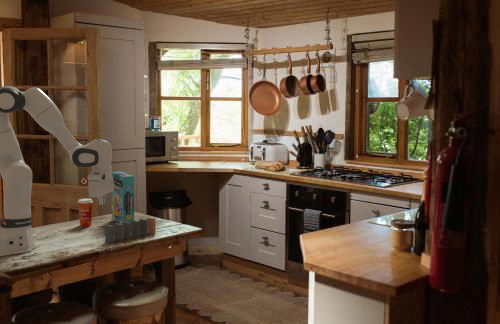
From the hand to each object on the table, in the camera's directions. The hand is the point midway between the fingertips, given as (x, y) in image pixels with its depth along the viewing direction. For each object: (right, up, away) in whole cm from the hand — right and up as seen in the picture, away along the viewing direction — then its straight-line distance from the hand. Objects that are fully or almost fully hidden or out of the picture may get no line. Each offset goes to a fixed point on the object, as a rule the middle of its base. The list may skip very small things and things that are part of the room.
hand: (101, 204), depth 255 cm
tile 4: (+12, -17, +15) cm, 26 cm away
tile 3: (+9, -18, +11) cm, 23 cm away
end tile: (+19, -17, +23) cm, 34 cm away
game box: (-1, -14, +44) cm, 46 cm away
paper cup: (-18, -14, +37) cm, 44 cm away
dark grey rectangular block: (+3, -18, +4) cm, 19 cm away
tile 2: (+6, -18, +7) cm, 20 cm away
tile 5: (+16, -17, +19) cm, 30 cm away
